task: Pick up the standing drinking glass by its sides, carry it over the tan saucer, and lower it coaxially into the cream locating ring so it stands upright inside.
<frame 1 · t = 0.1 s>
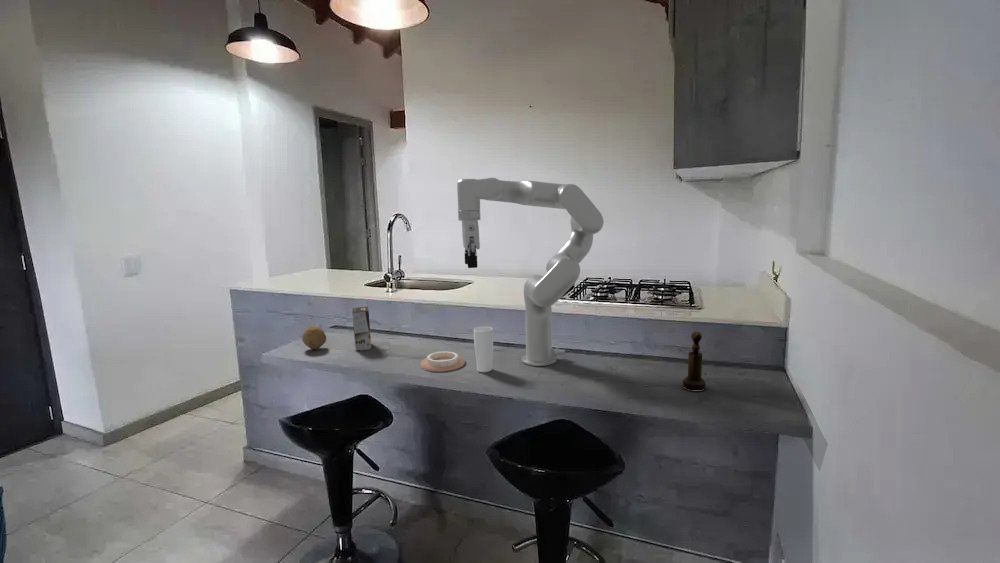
hand: (471, 265, 167), 37 cm above the countertop, tool pointing down, fingers open, 9 cm apart
coffee box: (363, 347, 199), on the countertop
drinking glass: (484, 370, 169), on the countertop
dark chess pawn: (694, 388, 149), on the countertop
natural sponge: (314, 349, 198), on the countertop
tan saucer: (442, 364, 176), on the countertop
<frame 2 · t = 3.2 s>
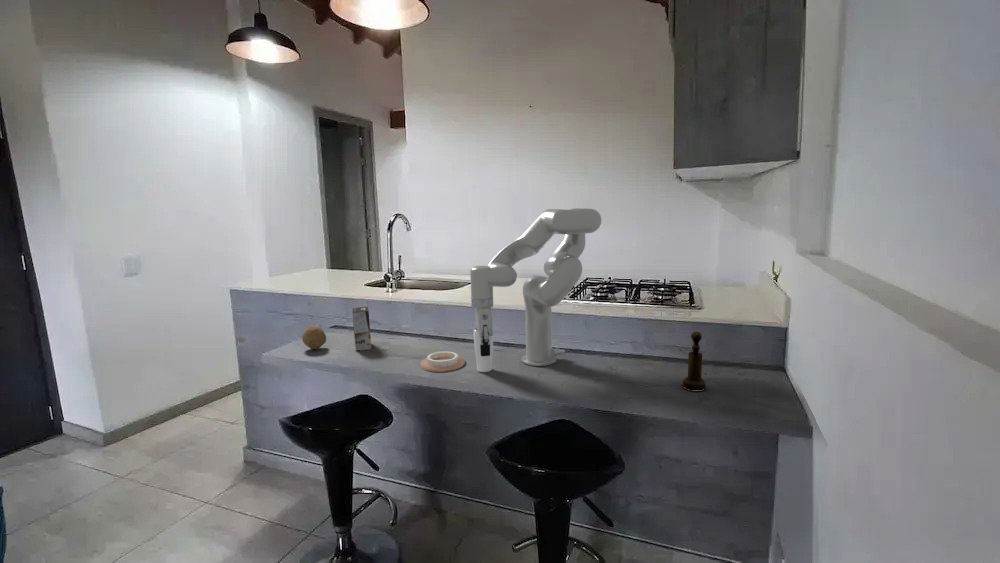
hand: (483, 352, 168), 7 cm above the countertop, tool pointing down, fingers closed on drinking glass, 6 cm apart
drinking glass: (484, 370, 169), on the countertop, touching gripper
everything else where it was.
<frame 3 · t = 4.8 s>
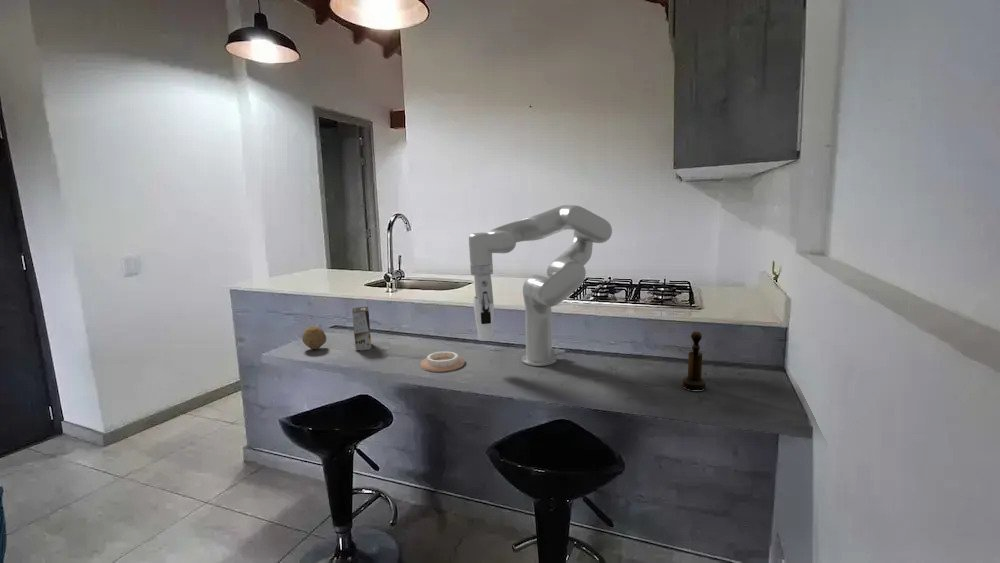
hand: (484, 320, 166), 18 cm above the countertop, tool pointing down, fingers closed on drinking glass, 6 cm apart
drinking glass: (485, 339, 167), point 11 cm above the countertop, touching gripper
everything else where it was.
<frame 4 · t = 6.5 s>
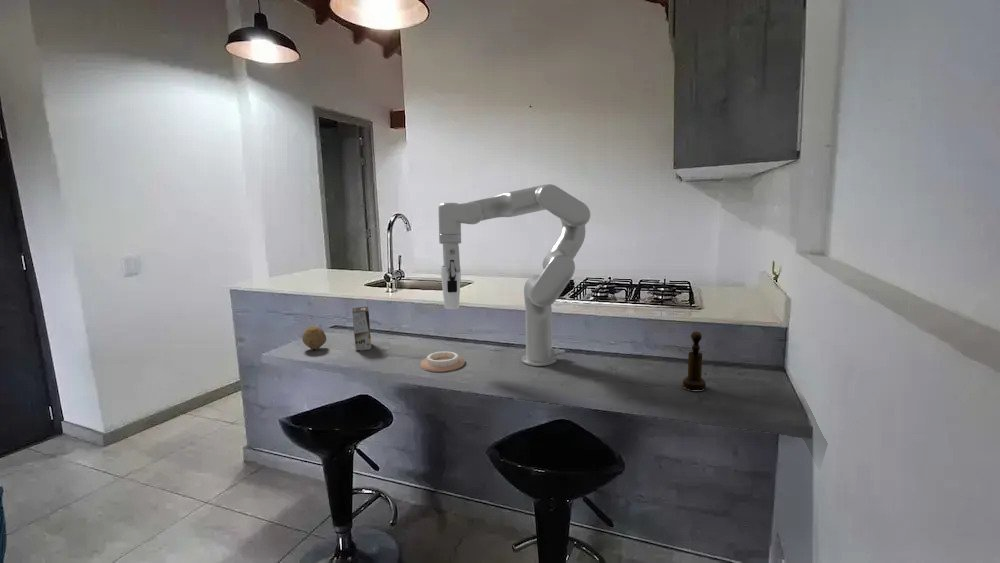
hand: (451, 289, 169), 28 cm above the countertop, tool pointing down, fingers closed on drinking glass, 6 cm apart
drinking glass: (451, 308, 170), point 21 cm above the countertop, touching gripper
everything else where it was.
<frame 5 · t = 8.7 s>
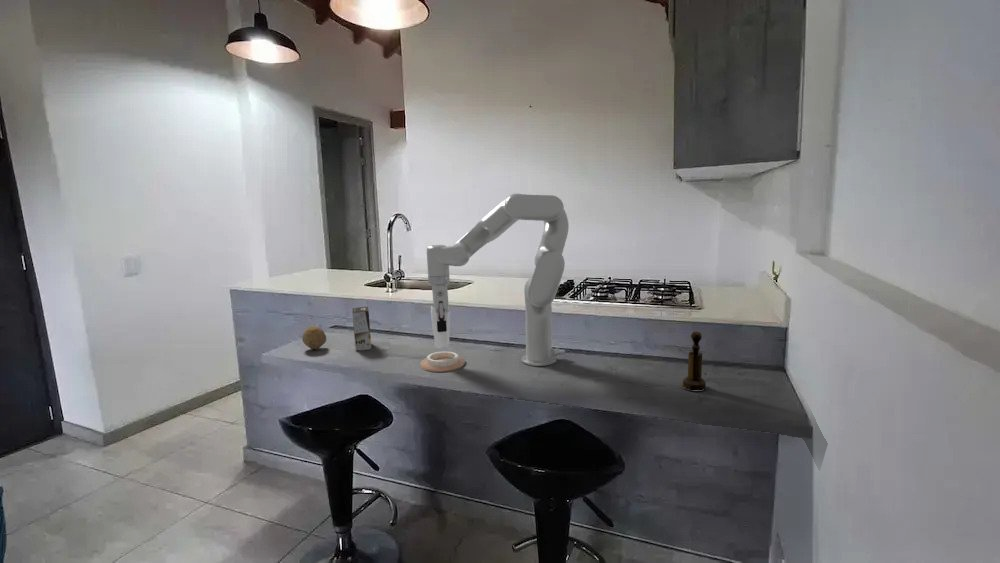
hand: (441, 328, 174), 13 cm above the countertop, tool pointing down, fingers closed on drinking glass, 6 cm apart
drinking glass: (442, 346, 175), point 7 cm above the countertop, touching gripper
everything else where it was.
when the fingers open (8 cm above the countertop, at t = 10.3 s): drinking glass stays where it is, resting on tan saucer.
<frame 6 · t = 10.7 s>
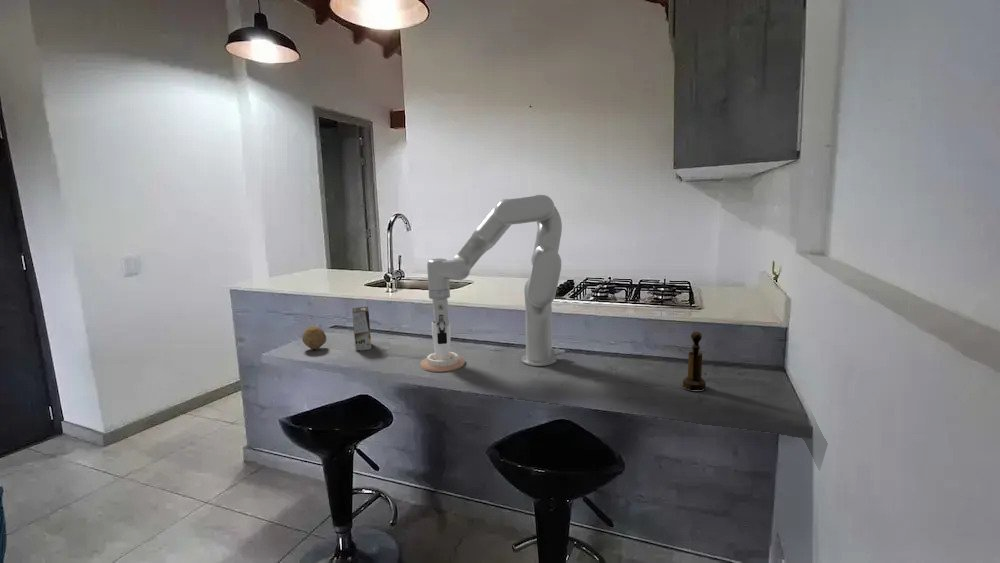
hand: (441, 339, 175), 9 cm above the countertop, tool pointing down, fingers open, 9 cm apart
drinking glass: (442, 361, 176), point 1 cm above the countertop, touching tan saucer
everything else where it was.
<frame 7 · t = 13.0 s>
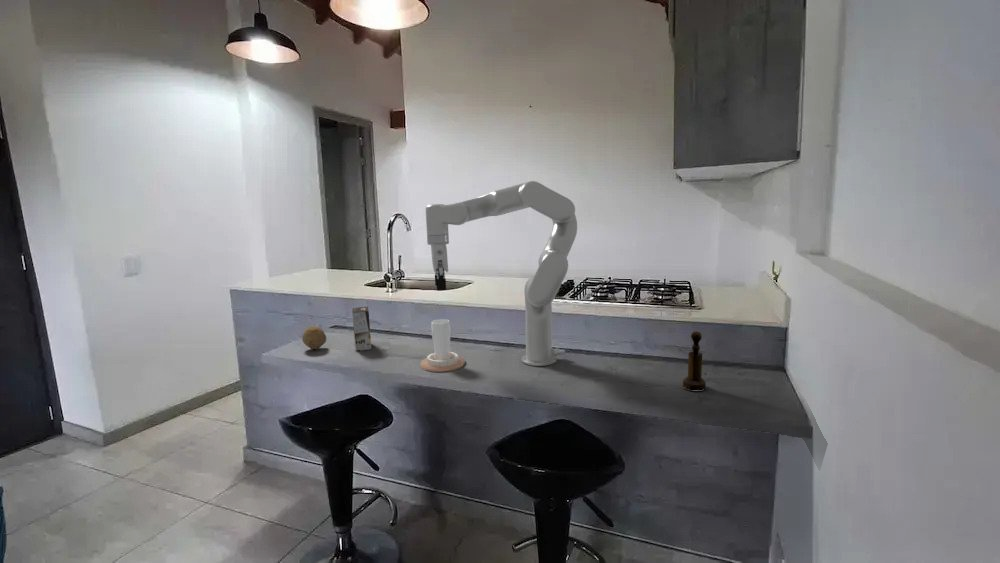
hand: (440, 287, 172), 28 cm above the countertop, tool pointing down, fingers open, 9 cm apart
nothing on the countertop moved.
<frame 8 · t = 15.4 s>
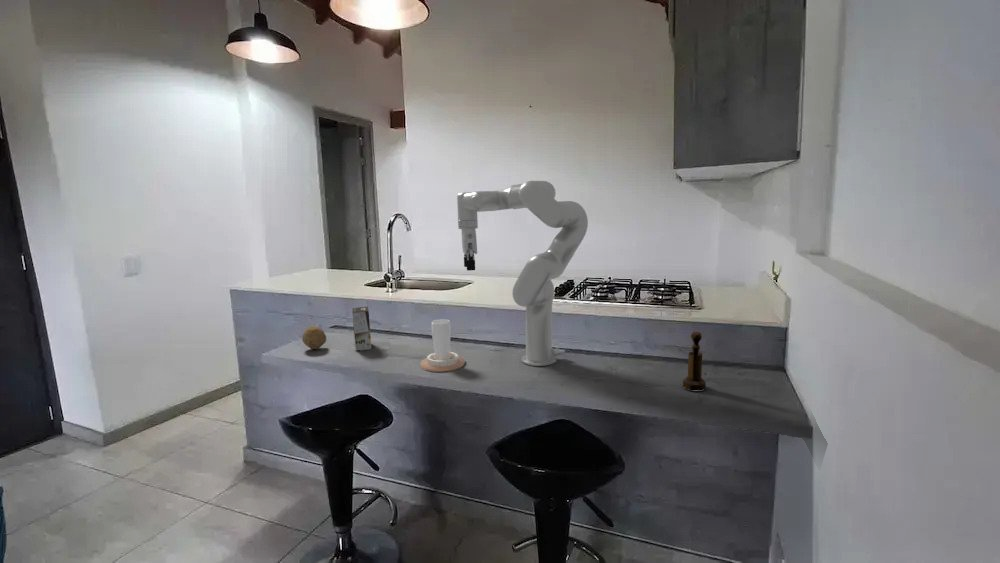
hand: (469, 268, 189), 32 cm above the countertop, tool pointing down, fingers open, 9 cm apart
nothing on the countertop moved.
at the end: drinking glass 0.4 cm off-centre on the tan saucer, point 0.8 cm above the tan saucer's base; drinking glass tilted 0°; the gripper is holding nothing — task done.
